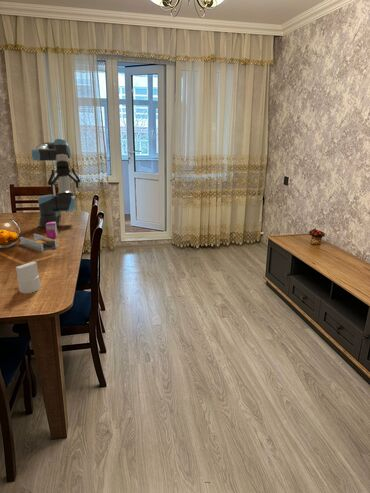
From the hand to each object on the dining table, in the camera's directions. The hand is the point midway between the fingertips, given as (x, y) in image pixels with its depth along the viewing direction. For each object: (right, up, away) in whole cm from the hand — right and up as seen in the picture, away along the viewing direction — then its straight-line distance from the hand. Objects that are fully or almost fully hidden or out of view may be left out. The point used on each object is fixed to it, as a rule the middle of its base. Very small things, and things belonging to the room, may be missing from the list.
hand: (65, 194), depth 220 cm
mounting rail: (-15, -35, -6) cm, 38 cm away
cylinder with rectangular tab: (+5, -54, -61) cm, 82 cm away
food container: (-30, -11, +66) cm, 74 cm away
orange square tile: (-15, -32, -7) cm, 36 cm away
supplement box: (-13, -29, +12) cm, 34 cm away
